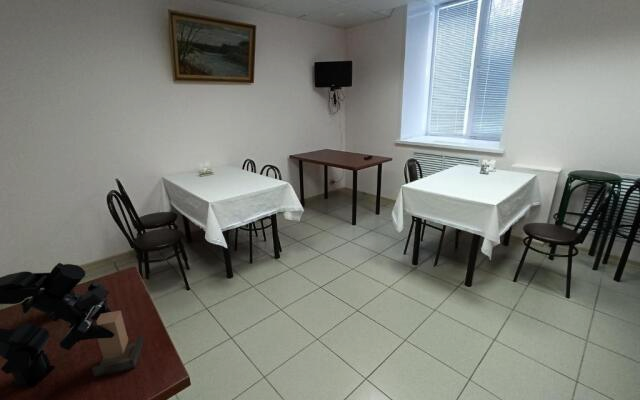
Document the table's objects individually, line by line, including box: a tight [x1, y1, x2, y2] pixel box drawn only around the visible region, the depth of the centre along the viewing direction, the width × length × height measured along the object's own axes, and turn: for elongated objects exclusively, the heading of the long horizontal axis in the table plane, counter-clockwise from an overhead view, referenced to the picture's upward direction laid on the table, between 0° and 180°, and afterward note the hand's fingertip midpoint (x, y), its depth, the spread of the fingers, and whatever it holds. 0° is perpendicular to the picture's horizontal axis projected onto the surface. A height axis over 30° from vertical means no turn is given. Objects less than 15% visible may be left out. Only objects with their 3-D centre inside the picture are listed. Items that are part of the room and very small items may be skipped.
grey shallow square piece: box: [91, 334, 144, 378], centre depth 87 cm, size 10×10×3 cm
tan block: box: [96, 310, 129, 358], centre depth 85 cm, size 5×5×11 cm
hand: (116, 329), depth 85 cm, fingers closed on tan block, 5 cm apart
